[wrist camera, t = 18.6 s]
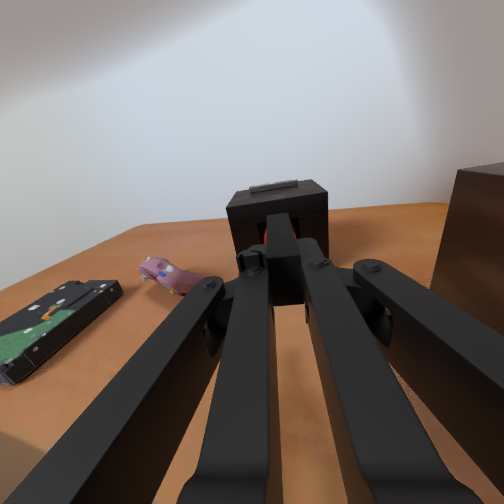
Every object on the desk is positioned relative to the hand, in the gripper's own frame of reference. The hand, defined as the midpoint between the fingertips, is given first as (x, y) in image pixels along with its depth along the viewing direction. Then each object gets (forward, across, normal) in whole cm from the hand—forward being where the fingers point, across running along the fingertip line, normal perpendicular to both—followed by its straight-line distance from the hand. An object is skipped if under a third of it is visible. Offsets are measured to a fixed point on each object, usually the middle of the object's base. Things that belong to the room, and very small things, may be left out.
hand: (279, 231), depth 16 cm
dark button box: (+16, 0, -11) cm, 20 cm away
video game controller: (+10, -16, -11) cm, 22 cm away
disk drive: (+4, -31, -11) cm, 33 cm away
